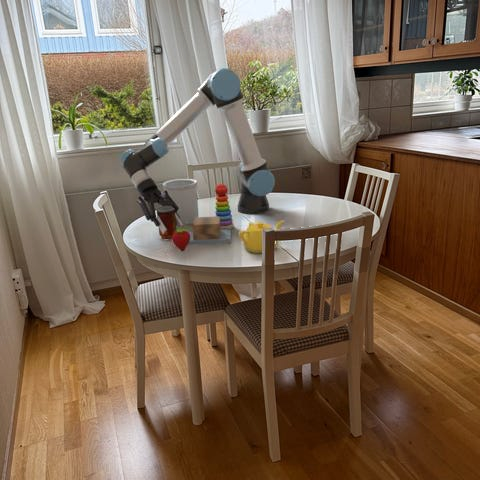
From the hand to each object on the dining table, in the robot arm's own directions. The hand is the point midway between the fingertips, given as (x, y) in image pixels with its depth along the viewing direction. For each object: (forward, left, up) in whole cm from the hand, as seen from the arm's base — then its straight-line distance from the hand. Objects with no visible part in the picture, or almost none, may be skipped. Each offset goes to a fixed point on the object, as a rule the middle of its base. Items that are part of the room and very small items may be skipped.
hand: (172, 229), depth 169 cm
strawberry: (-5, +13, -5) cm, 15 cm away
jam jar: (+2, -2, -4) cm, 6 cm away
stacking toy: (-20, -12, -5) cm, 24 cm away
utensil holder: (-1, -26, -5) cm, 27 cm away
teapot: (-35, +15, -5) cm, 38 cm away
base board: (-14, +1, -4) cm, 14 cm away
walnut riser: (-14, +1, -3) cm, 14 cm away
